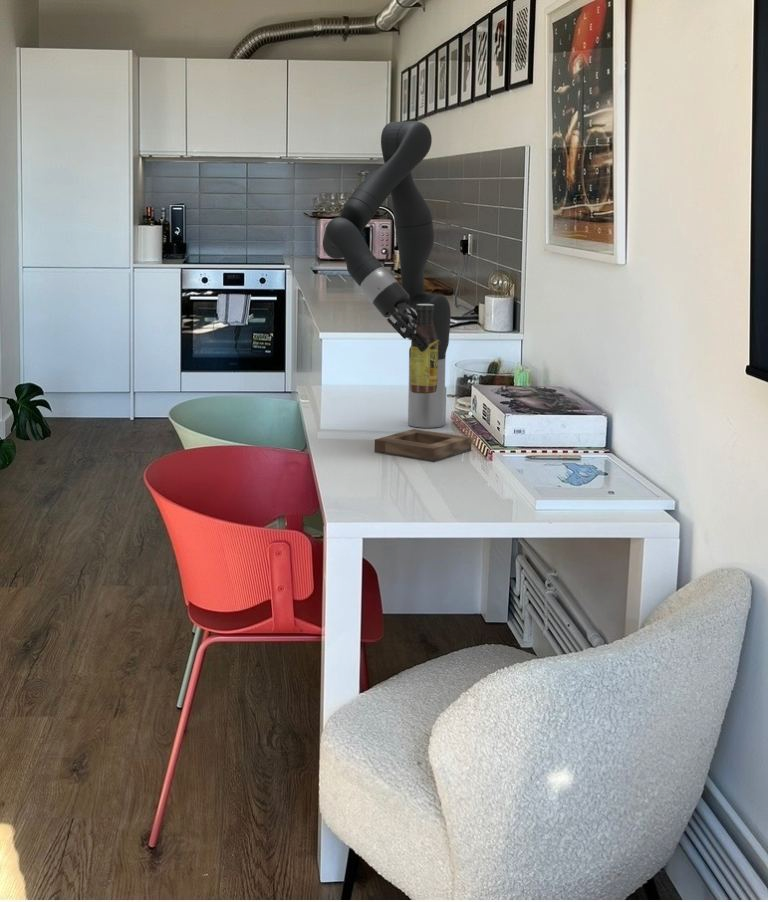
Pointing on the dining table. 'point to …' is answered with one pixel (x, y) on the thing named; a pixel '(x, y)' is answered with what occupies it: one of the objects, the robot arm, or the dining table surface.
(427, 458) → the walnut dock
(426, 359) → the sauce bottle
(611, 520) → the dining table surface
